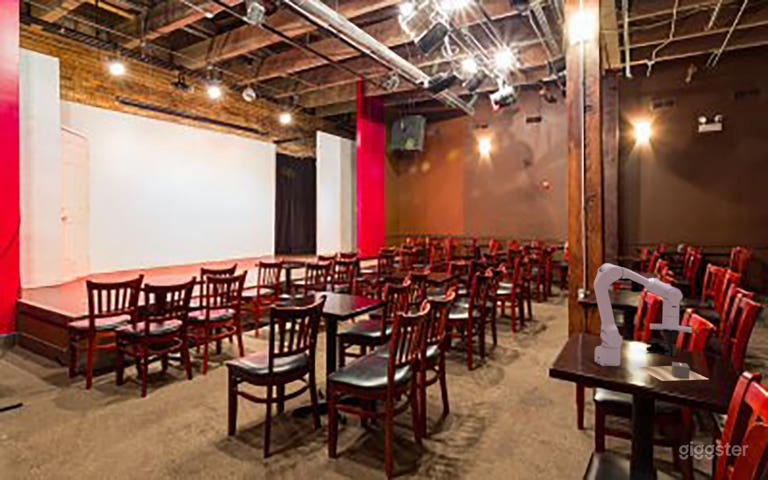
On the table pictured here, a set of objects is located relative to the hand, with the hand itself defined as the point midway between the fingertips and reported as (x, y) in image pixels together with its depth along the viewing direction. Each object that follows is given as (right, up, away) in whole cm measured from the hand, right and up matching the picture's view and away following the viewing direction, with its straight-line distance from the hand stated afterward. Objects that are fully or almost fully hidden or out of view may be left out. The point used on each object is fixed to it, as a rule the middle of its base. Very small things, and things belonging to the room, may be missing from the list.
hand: (669, 347), depth 181 cm
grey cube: (-3, -9, -11) cm, 14 cm away
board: (-4, -10, -7) cm, 13 cm away
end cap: (+9, -9, +19) cm, 23 cm away
